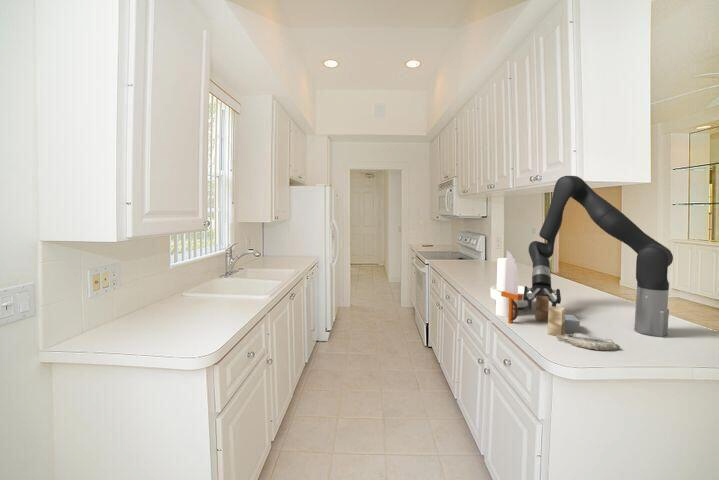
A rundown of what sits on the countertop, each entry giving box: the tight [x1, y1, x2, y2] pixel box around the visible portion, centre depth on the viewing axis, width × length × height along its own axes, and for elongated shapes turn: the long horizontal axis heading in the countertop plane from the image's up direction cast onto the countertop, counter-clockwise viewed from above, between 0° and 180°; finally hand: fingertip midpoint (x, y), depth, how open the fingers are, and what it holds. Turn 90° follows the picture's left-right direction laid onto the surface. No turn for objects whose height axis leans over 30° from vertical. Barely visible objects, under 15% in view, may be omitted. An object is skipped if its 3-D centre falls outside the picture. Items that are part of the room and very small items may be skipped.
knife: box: [501, 250, 522, 324], centre depth 145 cm, size 8×2×30 cm, turn 27°
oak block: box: [547, 305, 566, 338], centre depth 132 cm, size 4×4×10 cm
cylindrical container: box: [495, 257, 516, 318], centre depth 157 cm, size 7×7×25 cm
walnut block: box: [534, 295, 550, 323], centre depth 149 cm, size 4×4×10 cm
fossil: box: [556, 332, 621, 351], centre depth 122 cm, size 18×10×3 cm, turn 52°
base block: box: [564, 313, 581, 334], centre depth 138 cm, size 8×8×5 cm
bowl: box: [490, 284, 535, 309], centre depth 172 cm, size 20×20×8 cm
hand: (541, 309), depth 148 cm, fingers open, 8 cm apart
